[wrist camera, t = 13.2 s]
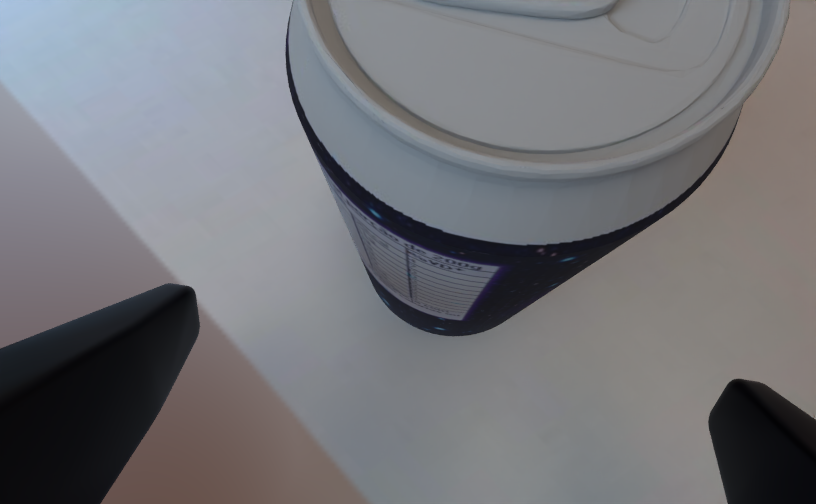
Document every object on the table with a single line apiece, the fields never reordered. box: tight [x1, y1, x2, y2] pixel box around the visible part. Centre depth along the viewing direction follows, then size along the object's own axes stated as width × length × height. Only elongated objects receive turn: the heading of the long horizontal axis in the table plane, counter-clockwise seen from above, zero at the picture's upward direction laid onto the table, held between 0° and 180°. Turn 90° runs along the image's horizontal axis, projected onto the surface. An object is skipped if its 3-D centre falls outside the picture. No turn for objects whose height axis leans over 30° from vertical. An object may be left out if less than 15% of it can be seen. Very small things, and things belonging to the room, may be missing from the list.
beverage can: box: [286, 0, 790, 336], centre depth 10 cm, size 6×6×12 cm
